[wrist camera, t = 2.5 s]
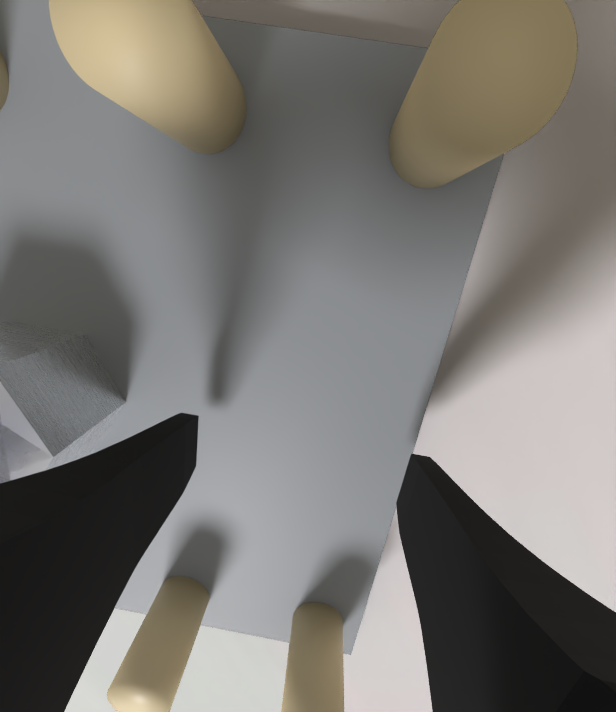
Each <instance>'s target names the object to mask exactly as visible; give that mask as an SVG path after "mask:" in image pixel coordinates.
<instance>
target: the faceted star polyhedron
mask: <svg viewBox="0 0 616 712" xmlns="http://www.w3.org/2000/svg"><path fill="white" fill-rule="evenodd" d="M125 403H126V401H125V399H124V397H123V396H122V394H121V392H120V391H119V389H118V387H117V386H116V384H115V382H114V381H113V379H112V377H111V376H110V374H109V372H108V371H107V369H106V367H105V366H104V364H103V362H102V361H101V359H100V357H99V356H98V354H97V352H96V351H95V349H94V347H93V346H92V344H91V342H90V341H89V339H88V337H87V336H86V334H83V333H78V332H72V331H66V330H60V329H54V328H49V327H43V326H37V325H31V324H26V323H20V322H14V321H5V322H1V323H0V483H4V482H7V481H11V480H14V479H18V478H21V477H25V476H28V475H31V474H35V473H38V472H42V471H45V470H48V469H51V468H54V467H57V466H60V465H63V464H66V463H69V462H72V461H74V460H77V459H80V458H83V457H85V456H87V455H88V454H89V453H91V452H92V451H93V450H94V449H95V448H96V446H97V445H98V443H99V442H100V440H101V439H102V437H103V436H104V434H105V433H106V431H107V430H108V428H109V427H110V425H111V424H112V422H113V421H114V419H115V418H116V416H117V415H118V413H119V412H120V410H121V409H122V407H123V406H124V404H125Z"/></svg>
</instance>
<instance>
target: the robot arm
mask: <svg viewBox="0 0 616 712" xmlns="http://www.w3.org/2000/svg"><path fill="white" fill-rule="evenodd" d="M198 420H199V416H198V415H192V414H187V413H179V414H176V415H174V416H172V417H170V418H168V419H166V420H164V421H162V422H160V423H158V424H156V425H154V426H152V427H150V428H148V429H146V430H144V431H142V432H140V433H137V434H135V435H133V436H131V437H129V438H127V439H125V440H123V441H120V442H118V443H116V444H113V445H111V446H109V447H107V448H104V449H102V450H100V451H98V452H95V453H93V454H90V455H88V456H85V457H83V458H80V459H77V460H74V461H72V462H69V463H66V464H63V465H60V466H57V467H54V468H51V469H48V470H45V471H42V472H38V473H35V474H31V475H28V476H25V477H21V478H18V479H14V480H11V481H7V482H4V483H0V712H64V711H65V709H66V706H67V704H68V702H69V700H70V698H71V695H72V693H73V691H74V689H75V687H76V685H77V683H78V681H79V679H80V677H81V675H82V673H83V670H84V668H85V666H86V664H87V662H88V660H89V658H90V656H91V654H92V652H93V650H94V648H95V645H96V643H97V641H98V639H99V638H100V636H101V634H102V632H103V630H104V628H105V626H106V624H107V622H108V620H109V618H110V616H111V614H112V612H113V610H114V608H115V606H116V604H117V602H118V600H119V598H120V596H121V594H122V592H123V591H124V589H125V587H126V585H127V583H128V581H129V579H130V577H131V575H132V573H133V572H134V570H135V568H136V566H137V565H138V563H139V561H140V560H141V558H142V556H143V555H144V553H145V552H146V550H147V548H148V547H149V545H150V544H151V542H152V541H153V539H154V538H155V536H156V535H157V533H158V532H159V530H160V528H161V527H162V525H163V524H164V522H165V521H166V519H167V518H168V516H169V515H170V513H171V511H172V510H173V508H174V507H175V505H176V504H177V502H178V501H179V499H180V497H181V496H182V494H183V493H184V491H185V489H186V487H187V484H188V482H189V480H190V478H191V476H192V474H193V472H194V470H195V468H196V461H197V440H198ZM396 505H397V515H398V524H399V532H400V537H401V541H402V546H403V550H404V554H405V558H406V563H407V567H408V571H409V575H410V579H411V583H412V587H413V591H414V596H415V600H416V604H417V608H418V613H419V618H420V623H421V629H422V636H423V642H424V649H425V656H426V663H427V670H428V678H429V685H430V693H431V701H432V709H433V712H616V612H614V611H612V610H611V609H609V608H608V607H606V606H605V605H603V604H602V603H600V602H599V601H597V600H596V599H594V598H593V597H591V596H590V595H588V594H587V593H585V592H584V591H583V590H581V589H580V588H578V587H577V586H576V585H574V584H573V583H571V582H570V581H569V580H567V579H566V578H564V577H563V576H562V575H560V574H559V573H557V572H556V571H555V570H553V569H552V568H551V567H549V566H548V565H547V564H545V563H544V562H543V561H541V560H540V559H539V558H538V557H536V556H535V555H534V554H533V553H531V552H530V551H529V550H528V549H526V548H525V547H524V546H523V545H522V544H520V543H519V542H518V541H517V540H515V539H514V538H513V537H512V536H511V535H510V534H508V533H507V532H506V531H505V530H504V529H503V528H502V527H501V526H499V525H498V524H497V523H496V522H495V521H494V520H493V519H492V518H491V517H490V516H488V515H487V514H486V513H485V512H484V511H483V510H482V509H481V508H480V507H479V506H478V505H477V504H476V503H475V502H474V501H473V500H472V499H471V498H470V497H469V496H468V495H467V494H466V493H465V492H464V491H463V490H462V489H461V488H460V487H459V486H458V485H457V484H456V483H455V482H454V481H453V480H452V479H451V478H450V477H449V476H448V475H447V474H446V473H445V472H444V471H443V469H442V468H441V467H440V466H439V465H438V464H437V463H436V462H434V461H433V460H432V459H431V458H430V457H427V456H421V455H416V454H411V456H410V459H409V462H408V466H407V469H406V472H405V476H404V479H403V482H402V485H401V489H400V492H399V495H398V499H397V502H396Z"/></svg>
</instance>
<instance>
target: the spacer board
mask: <svg viewBox="0 0 616 712" xmlns="http://www.w3.org/2000/svg"><path fill="white" fill-rule="evenodd" d="M577 47H578V46H577V33H576V27H575V23H574V20H573V17H572V14H571V12H570V10H569V8H568V6H567V4H566V2H565V1H564V0H460V1H459V2H458V3H457V4H456V5H455V6H454V7H453V8H452V9H451V10H450V12H449V13H448V14H447V15H446V17H445V18H444V20H443V21H442V23H441V24H440V26H439V28H438V30H437V32H436V34H435V35H434V37H433V40H432V42H431V44H430V46H429V48H423V47H416V46H409V45H402V44H395V43H388V42H381V41H375V40H368V39H361V38H354V37H347V36H340V35H333V34H326V33H319V32H312V31H305V30H298V29H291V28H284V27H277V26H270V25H263V24H256V23H249V22H243V21H236V20H229V19H222V18H215V17H208V16H201V15H200V13H199V11H198V10H197V8H196V6H195V5H194V3H193V1H192V0H0V323H1V322H5V321H14V322H20V323H26V324H31V325H37V326H43V327H49V328H54V329H60V330H66V331H72V332H78V333H83V334H86V336H87V337H88V339H89V341H90V342H91V344H92V346H93V347H94V349H95V351H96V352H97V354H98V356H99V357H100V359H101V361H102V362H103V364H104V366H105V367H106V369H107V371H108V372H109V374H110V376H111V377H112V379H113V381H114V382H115V384H116V386H117V387H118V389H119V391H120V392H121V394H122V396H123V397H124V399H125V401H126V403H125V404H124V406H123V407H122V409H121V410H120V412H119V413H118V415H117V416H116V418H115V419H114V421H113V422H112V424H111V425H110V427H109V428H108V430H107V431H106V433H105V434H104V436H103V437H102V439H101V440H100V442H99V443H98V445H97V446H96V448H95V449H94V450H93V451H92V452H91V453H89V454H88V455H90V454H93V453H95V452H98V451H100V450H102V449H104V448H107V447H109V446H111V445H113V444H116V443H118V442H120V441H123V440H125V439H127V438H129V437H131V436H133V435H135V434H137V433H140V432H142V431H144V430H146V429H148V428H150V427H152V426H154V425H156V424H158V423H160V422H162V421H164V420H166V419H168V418H170V417H172V416H174V415H176V414H179V413H187V414H192V415H198V416H199V420H198V440H197V461H196V468H195V470H194V472H193V474H192V476H191V478H190V480H189V482H188V484H187V487H186V489H185V491H184V493H183V494H182V496H181V497H180V499H179V501H178V502H177V504H176V505H175V507H174V508H173V510H172V511H171V513H170V515H169V516H168V518H167V519H166V521H165V522H164V524H163V525H162V527H161V528H160V530H159V532H158V533H157V535H156V536H155V538H154V539H153V541H152V542H151V544H150V545H149V547H148V548H147V550H146V552H145V553H144V555H143V556H142V558H141V560H140V561H139V563H138V565H137V566H136V568H135V570H134V572H133V573H132V575H131V577H130V579H129V581H128V583H127V585H126V587H125V589H124V591H123V592H122V594H121V596H120V598H119V600H118V602H117V604H116V606H115V608H116V609H121V610H126V611H131V612H136V613H141V614H146V617H145V619H144V621H143V623H142V625H141V627H140V629H139V631H138V633H137V635H136V637H135V639H134V641H133V642H132V644H131V646H130V648H129V650H128V652H127V654H126V656H125V658H124V660H123V662H122V664H121V666H120V668H119V670H118V672H117V674H116V676H115V678H114V680H113V682H112V684H111V686H110V687H109V689H108V692H107V698H108V701H109V703H110V704H111V705H112V707H113V708H114V709H116V710H117V711H118V712H169V711H170V709H171V706H172V703H173V700H174V697H175V695H176V692H177V689H178V686H179V683H180V681H181V678H182V675H183V672H184V669H185V667H186V664H187V661H188V658H189V655H190V653H191V650H192V647H193V644H194V641H195V639H196V636H197V633H198V630H199V627H200V625H202V626H207V627H212V628H217V629H222V630H228V631H233V632H238V633H243V634H248V635H253V636H258V637H263V638H268V639H273V640H278V641H283V642H288V643H289V652H288V660H287V669H286V677H285V686H284V694H283V702H282V711H281V712H344V675H343V653H344V654H349V655H351V653H352V649H353V646H354V643H355V640H356V636H357V633H358V630H359V626H360V623H361V620H362V617H363V613H364V610H365V607H366V604H367V600H368V597H369V594H370V590H371V587H372V584H373V581H374V577H375V574H376V571H377V568H378V564H379V561H380V558H381V554H382V551H383V548H384V545H385V541H386V538H387V535H388V532H389V528H390V525H391V522H392V518H393V515H394V512H395V509H396V502H397V499H398V495H399V492H400V489H401V485H402V482H403V479H404V476H405V472H406V469H407V466H408V462H409V459H410V456H411V454H412V453H413V450H414V447H415V443H416V440H417V437H418V433H419V430H420V427H421V424H422V420H423V417H424V414H425V411H426V407H427V404H428V401H429V397H430V394H431V391H432V388H433V384H434V381H435V378H436V375H437V371H438V368H439V365H440V361H441V358H442V355H443V352H444V348H445V345H446V342H447V339H448V335H449V332H450V329H451V325H452V322H453V319H454V316H455V312H456V309H457V306H458V303H459V299H460V296H461V293H462V289H463V286H464V283H465V280H466V276H467V273H468V270H469V267H470V263H471V260H472V257H473V253H474V250H475V247H476V244H477V240H478V237H479V234H480V231H481V227H482V224H483V221H484V218H485V214H486V211H487V208H488V204H489V201H490V198H491V195H492V191H493V188H494V185H495V182H496V178H497V175H498V172H499V168H500V165H501V162H502V159H503V155H504V153H505V152H507V151H509V150H511V149H513V148H515V147H516V146H518V145H520V144H522V143H524V142H525V141H527V140H528V139H530V138H531V137H532V136H534V135H535V134H536V133H537V132H539V131H540V130H541V129H542V128H543V127H544V126H545V125H546V124H547V123H548V121H549V120H550V119H551V118H552V116H553V115H554V114H555V113H556V111H557V109H558V108H559V106H560V105H561V103H562V101H563V99H564V98H565V96H566V94H567V91H568V89H569V86H570V84H571V81H572V78H573V74H574V71H575V66H576V60H577ZM88 455H87V456H88Z"/></svg>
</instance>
